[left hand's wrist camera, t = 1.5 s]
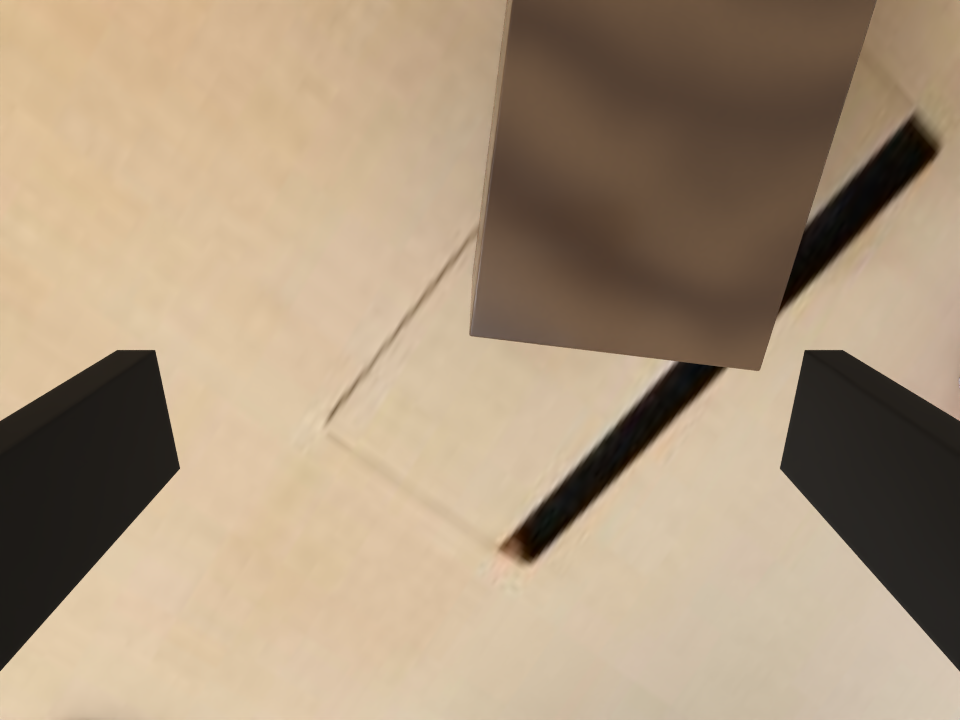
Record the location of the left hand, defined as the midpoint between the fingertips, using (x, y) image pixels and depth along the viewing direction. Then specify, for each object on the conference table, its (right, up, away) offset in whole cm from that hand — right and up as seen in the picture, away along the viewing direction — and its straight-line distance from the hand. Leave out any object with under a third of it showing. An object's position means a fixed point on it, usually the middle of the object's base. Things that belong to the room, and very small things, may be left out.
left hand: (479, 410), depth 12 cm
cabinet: (+6, +14, +16) cm, 22 cm away
